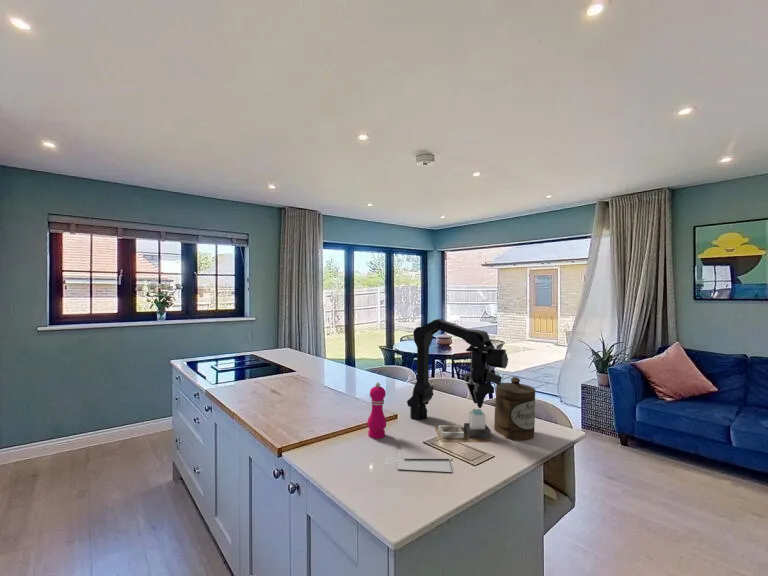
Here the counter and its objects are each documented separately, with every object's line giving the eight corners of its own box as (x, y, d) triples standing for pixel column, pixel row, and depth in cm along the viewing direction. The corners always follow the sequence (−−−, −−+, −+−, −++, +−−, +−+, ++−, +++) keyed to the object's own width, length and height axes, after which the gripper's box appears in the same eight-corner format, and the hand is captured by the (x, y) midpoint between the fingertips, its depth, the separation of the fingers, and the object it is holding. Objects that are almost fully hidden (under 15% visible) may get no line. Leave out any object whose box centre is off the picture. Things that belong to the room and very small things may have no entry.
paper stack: (456, 491, 104) (456, 488, 104) (367, 486, 105) (367, 483, 105) (446, 453, 127) (446, 451, 127) (373, 450, 129) (373, 448, 129)
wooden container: (521, 444, 136) (522, 384, 136) (486, 431, 148) (488, 376, 147) (541, 435, 146) (543, 378, 145) (507, 423, 157) (509, 371, 157)
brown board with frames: (441, 444, 134) (441, 433, 134) (434, 429, 148) (434, 419, 148) (496, 445, 135) (496, 433, 135) (483, 430, 149) (484, 420, 149)
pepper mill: (384, 440, 137) (385, 385, 137) (364, 438, 138) (366, 384, 138) (387, 432, 144) (389, 380, 144) (369, 430, 145) (370, 379, 145)
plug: (471, 436, 140) (472, 412, 140) (468, 432, 144) (469, 408, 144) (484, 436, 140) (485, 412, 140) (481, 432, 144) (482, 408, 144)
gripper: (509, 370, 133) (507, 414, 133) (491, 359, 151) (490, 398, 151) (478, 369, 132) (476, 413, 132) (464, 359, 151) (463, 398, 151)
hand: (477, 405), depth 142 cm, fingers open, 5 cm apart
